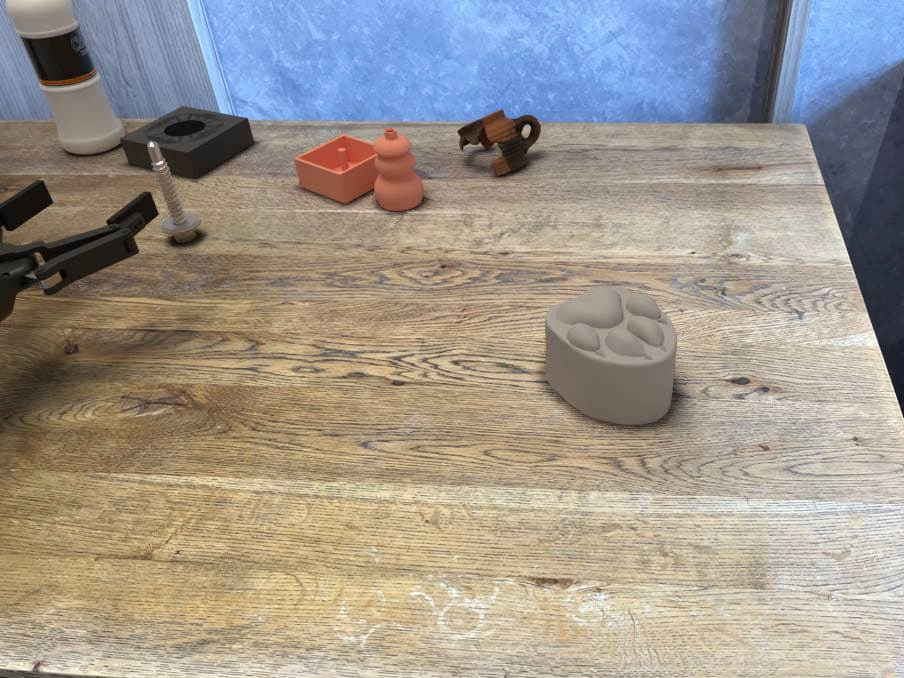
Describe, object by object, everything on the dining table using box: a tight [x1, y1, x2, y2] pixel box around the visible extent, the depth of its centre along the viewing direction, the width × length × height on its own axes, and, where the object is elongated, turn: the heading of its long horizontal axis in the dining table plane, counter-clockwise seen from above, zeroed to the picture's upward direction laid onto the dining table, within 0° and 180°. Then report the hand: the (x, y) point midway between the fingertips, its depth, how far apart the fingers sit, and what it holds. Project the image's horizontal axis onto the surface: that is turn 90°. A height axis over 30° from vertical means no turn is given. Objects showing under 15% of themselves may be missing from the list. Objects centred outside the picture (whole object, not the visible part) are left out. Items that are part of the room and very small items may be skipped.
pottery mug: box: [456, 109, 542, 177], centre depth 118 cm, size 12×10×8 cm
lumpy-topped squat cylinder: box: [544, 285, 678, 426], centre depth 78 cm, size 10×13×9 cm
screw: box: [147, 141, 202, 244], centre depth 101 cm, size 13×5×5 cm
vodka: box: [5, 0, 126, 156], centre depth 118 cm, size 9×9×30 cm
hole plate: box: [120, 105, 255, 180], centre depth 123 cm, size 13×13×4 cm
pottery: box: [293, 127, 424, 212], centre depth 110 cm, size 18×10×10 cm, turn 54°
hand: (98, 196), depth 89 cm, fingers open, 13 cm apart
